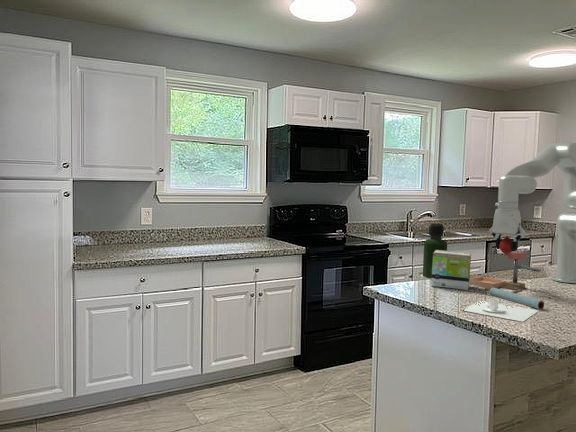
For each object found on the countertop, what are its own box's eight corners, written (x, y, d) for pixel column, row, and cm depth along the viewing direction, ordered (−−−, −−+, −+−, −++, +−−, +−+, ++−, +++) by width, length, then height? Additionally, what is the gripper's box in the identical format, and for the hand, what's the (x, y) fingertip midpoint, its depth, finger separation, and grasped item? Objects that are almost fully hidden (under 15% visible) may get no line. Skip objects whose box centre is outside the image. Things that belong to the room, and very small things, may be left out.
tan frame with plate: (506, 284, 219) (506, 280, 218) (530, 289, 210) (530, 284, 210) (484, 289, 207) (484, 284, 207) (509, 294, 199) (509, 289, 199)
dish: (480, 281, 226) (481, 276, 225) (506, 285, 216) (506, 280, 216) (466, 283, 218) (466, 279, 218) (492, 288, 209) (492, 283, 209)
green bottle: (448, 279, 227) (451, 225, 225) (425, 279, 227) (428, 224, 225) (442, 275, 237) (444, 223, 235) (420, 274, 237) (422, 222, 236)
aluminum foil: (544, 309, 177) (545, 300, 177) (530, 311, 175) (531, 301, 174) (495, 295, 198) (495, 287, 198) (482, 296, 195) (482, 288, 195)
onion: (515, 256, 202) (516, 236, 202) (500, 255, 203) (501, 236, 203) (512, 254, 208) (512, 235, 207) (497, 253, 209) (498, 234, 208)
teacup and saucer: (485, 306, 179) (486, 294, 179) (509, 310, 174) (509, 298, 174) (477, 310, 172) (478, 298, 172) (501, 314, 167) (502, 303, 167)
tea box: (430, 286, 210) (432, 252, 209) (433, 282, 219) (434, 249, 218) (468, 290, 204) (470, 254, 203) (469, 286, 213) (471, 251, 212)
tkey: (506, 282, 212) (508, 252, 211) (520, 281, 214) (521, 252, 214) (530, 288, 200) (532, 257, 199) (544, 288, 202) (546, 256, 201)
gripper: (483, 205, 208) (482, 248, 210) (524, 207, 195) (522, 253, 196) (492, 204, 213) (491, 246, 214) (533, 206, 200) (531, 251, 201)
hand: (506, 249), depth 205 cm, fingers closed on onion, 5 cm apart
